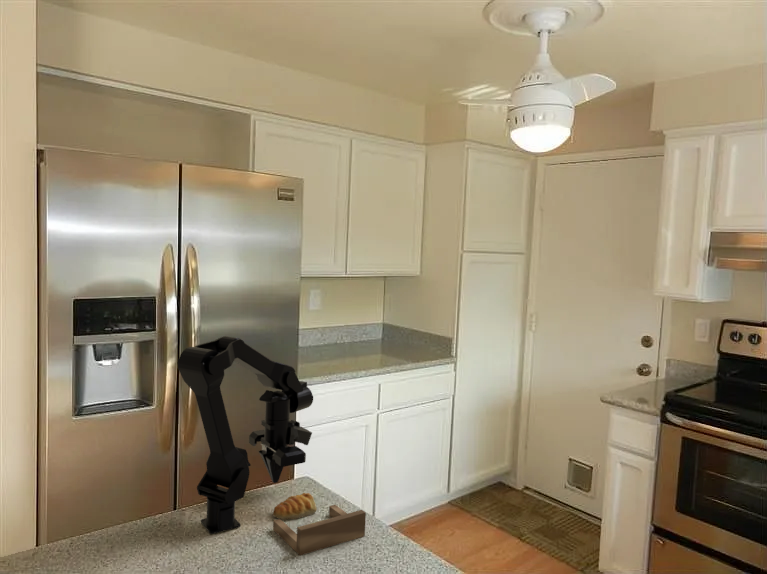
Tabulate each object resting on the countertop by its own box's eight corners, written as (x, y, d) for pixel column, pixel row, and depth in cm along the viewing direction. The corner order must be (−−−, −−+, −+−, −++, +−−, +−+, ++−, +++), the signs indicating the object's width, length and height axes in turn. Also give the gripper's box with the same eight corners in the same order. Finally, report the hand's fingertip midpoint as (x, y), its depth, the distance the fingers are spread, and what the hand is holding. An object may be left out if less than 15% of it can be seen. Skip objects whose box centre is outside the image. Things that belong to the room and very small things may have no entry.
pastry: (282, 525, 124) (283, 508, 124) (266, 514, 129) (267, 497, 129) (319, 514, 131) (319, 497, 130) (302, 503, 136) (302, 487, 135)
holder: (273, 529, 122) (273, 506, 122) (334, 513, 131) (335, 491, 130) (299, 555, 112) (300, 530, 112) (364, 536, 121) (365, 512, 121)
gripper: (327, 423, 134) (324, 489, 135) (290, 403, 149) (288, 463, 150) (283, 430, 128) (280, 499, 129) (249, 409, 143) (247, 471, 144)
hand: (275, 482), depth 138 cm, fingers closed
